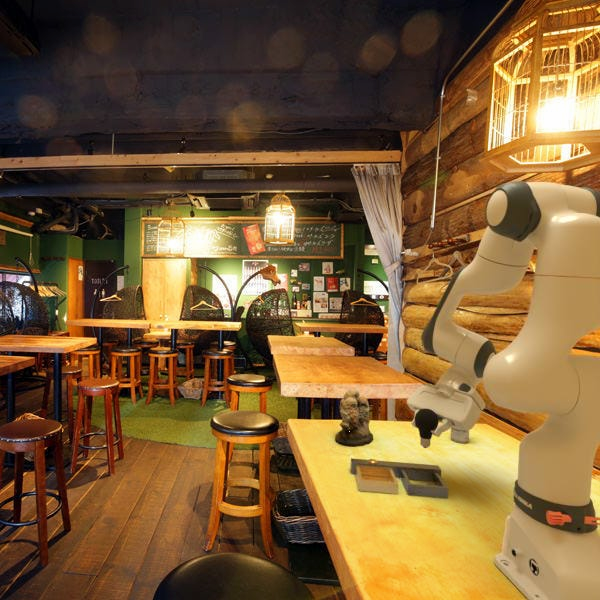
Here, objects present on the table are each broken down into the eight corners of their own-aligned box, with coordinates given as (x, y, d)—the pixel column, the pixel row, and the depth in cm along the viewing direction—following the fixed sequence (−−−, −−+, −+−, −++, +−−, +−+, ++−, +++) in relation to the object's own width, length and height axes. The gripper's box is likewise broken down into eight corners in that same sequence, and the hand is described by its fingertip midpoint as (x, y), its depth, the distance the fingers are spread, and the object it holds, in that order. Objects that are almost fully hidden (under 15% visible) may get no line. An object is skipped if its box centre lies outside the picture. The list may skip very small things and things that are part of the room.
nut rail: (452, 498, 95) (453, 484, 95) (353, 490, 96) (354, 476, 96) (437, 476, 108) (438, 463, 108) (350, 469, 109) (350, 456, 109)
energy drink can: (448, 440, 138) (450, 398, 138) (452, 436, 143) (454, 395, 143) (466, 445, 134) (468, 401, 135) (470, 440, 139) (472, 398, 140)
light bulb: (412, 442, 103) (414, 405, 104) (435, 445, 102) (437, 407, 102) (414, 450, 98) (416, 410, 98) (438, 453, 97) (440, 413, 97)
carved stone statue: (359, 451, 123) (362, 397, 123) (326, 443, 129) (329, 391, 129) (379, 436, 139) (381, 388, 139) (348, 429, 145) (350, 383, 145)
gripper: (419, 375, 113) (391, 411, 108) (480, 390, 94) (449, 434, 90) (430, 389, 115) (402, 426, 110) (491, 407, 96) (462, 451, 92)
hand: (424, 430), depth 100 cm, fingers closed on light bulb, 6 cm apart
